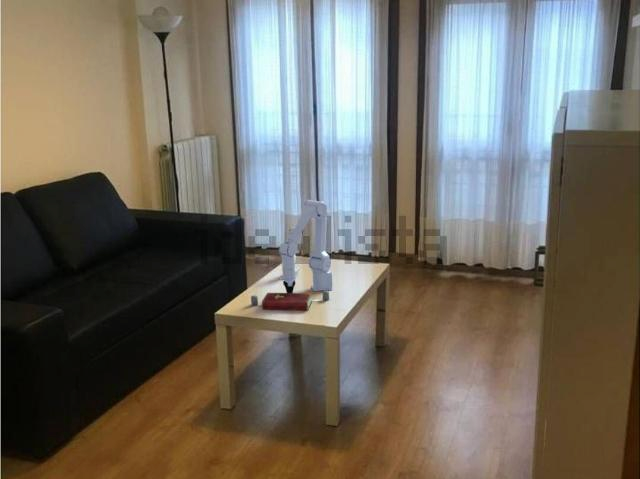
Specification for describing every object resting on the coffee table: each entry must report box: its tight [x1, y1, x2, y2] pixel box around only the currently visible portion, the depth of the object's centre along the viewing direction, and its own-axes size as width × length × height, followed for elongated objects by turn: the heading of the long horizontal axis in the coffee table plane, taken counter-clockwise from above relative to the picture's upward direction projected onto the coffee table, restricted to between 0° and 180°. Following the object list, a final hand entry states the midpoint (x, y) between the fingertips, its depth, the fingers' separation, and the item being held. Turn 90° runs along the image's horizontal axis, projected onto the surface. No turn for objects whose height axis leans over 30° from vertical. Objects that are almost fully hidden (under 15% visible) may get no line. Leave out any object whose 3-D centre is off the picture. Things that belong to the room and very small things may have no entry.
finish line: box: [250, 290, 330, 307], centre depth 302 cm, size 36×3×4 cm, turn 97°
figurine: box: [294, 254, 301, 277], centre depth 340 cm, size 7×9×15 cm
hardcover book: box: [261, 292, 313, 311], centre depth 298 cm, size 12×21×4 cm, turn 82°
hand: (289, 296), depth 305 cm, fingers closed
